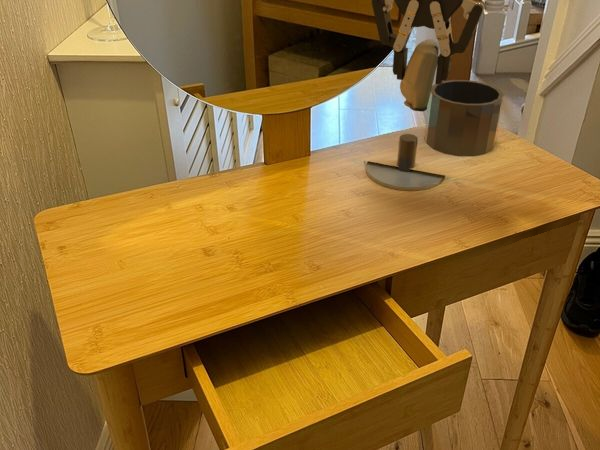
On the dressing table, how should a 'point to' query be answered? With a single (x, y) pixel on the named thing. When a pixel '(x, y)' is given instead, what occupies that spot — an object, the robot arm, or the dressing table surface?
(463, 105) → the pot
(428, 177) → the lid
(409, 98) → the beige rounded block
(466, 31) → the robot arm
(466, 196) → the dressing table surface
